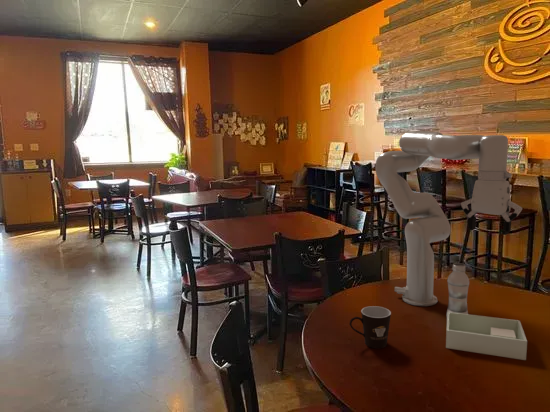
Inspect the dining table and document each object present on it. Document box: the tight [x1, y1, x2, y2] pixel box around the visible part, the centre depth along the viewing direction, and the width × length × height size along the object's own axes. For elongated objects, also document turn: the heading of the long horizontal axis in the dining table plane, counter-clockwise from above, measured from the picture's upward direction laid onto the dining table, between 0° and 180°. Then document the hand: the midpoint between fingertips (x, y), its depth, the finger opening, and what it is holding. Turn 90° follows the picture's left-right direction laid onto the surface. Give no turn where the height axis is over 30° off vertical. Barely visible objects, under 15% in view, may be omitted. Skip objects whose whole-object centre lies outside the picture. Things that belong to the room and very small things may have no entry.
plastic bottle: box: [445, 262, 470, 317], centre depth 136 cm, size 6×7×20 cm
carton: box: [490, 327, 516, 339], centre depth 120 cm, size 6×5×4 cm
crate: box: [445, 311, 528, 361], centre depth 122 cm, size 20×14×6 cm
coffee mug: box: [349, 305, 392, 349], centre depth 125 cm, size 12×9×10 cm
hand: (488, 231), depth 128 cm, fingers open, 9 cm apart
